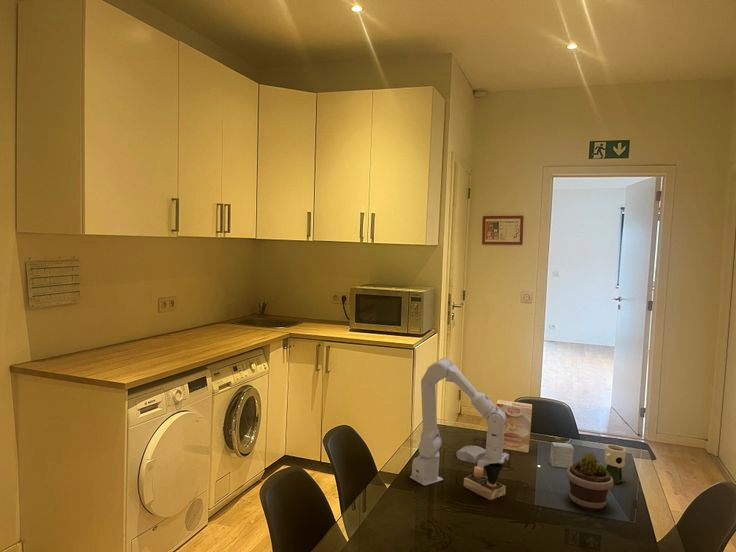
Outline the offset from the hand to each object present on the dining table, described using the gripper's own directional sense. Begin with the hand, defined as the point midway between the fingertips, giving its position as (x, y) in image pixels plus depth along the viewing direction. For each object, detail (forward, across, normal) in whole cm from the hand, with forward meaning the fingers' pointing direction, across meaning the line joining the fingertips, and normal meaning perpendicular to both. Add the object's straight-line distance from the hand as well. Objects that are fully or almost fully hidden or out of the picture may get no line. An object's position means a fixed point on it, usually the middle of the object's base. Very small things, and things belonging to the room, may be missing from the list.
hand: (491, 483), depth 182 cm
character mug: (+4, +51, -17) cm, 54 cm away
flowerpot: (+4, +24, -22) cm, 33 cm away
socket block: (+4, 0, +3) cm, 5 cm away
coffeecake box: (+4, +44, +25) cm, 51 cm away
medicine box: (+4, +46, +2) cm, 46 cm away
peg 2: (+3, 0, 0) cm, 3 cm away
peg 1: (0, 0, +6) cm, 6 cm away
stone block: (+4, +19, +26) cm, 33 cm away
